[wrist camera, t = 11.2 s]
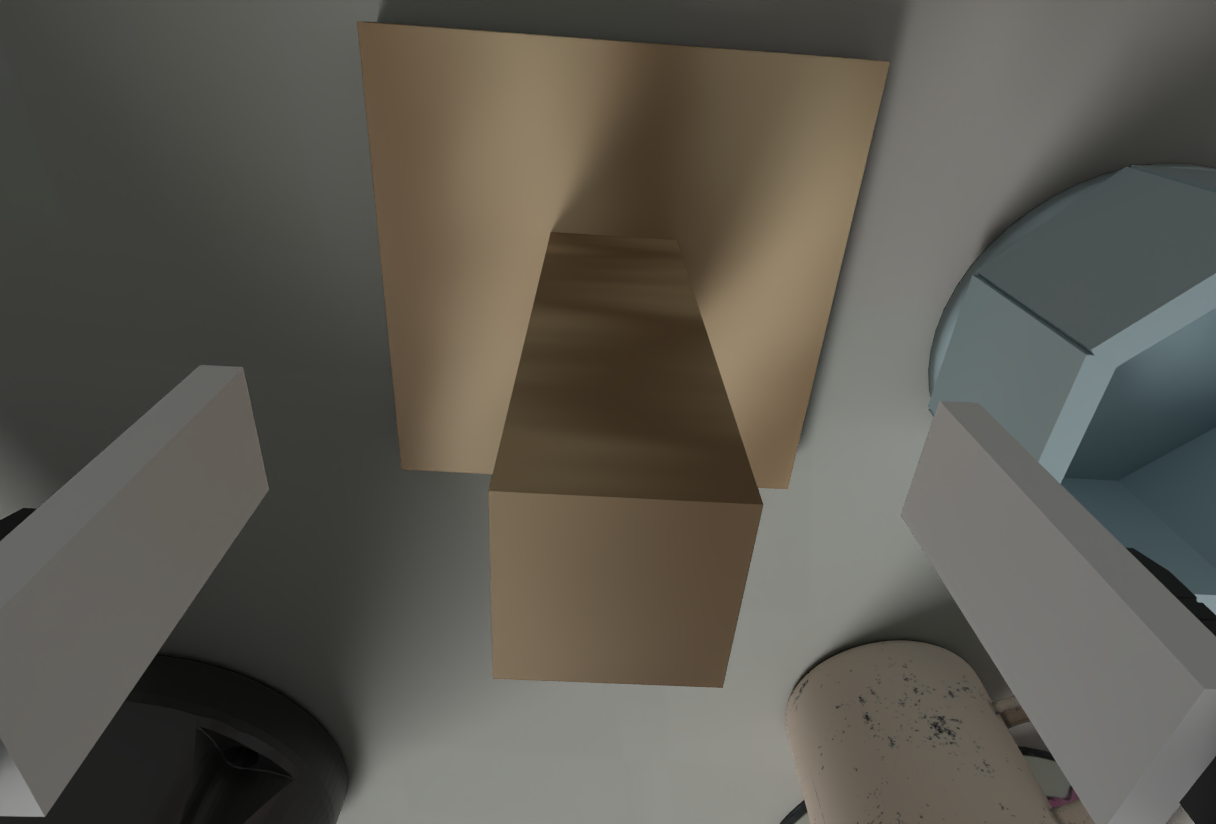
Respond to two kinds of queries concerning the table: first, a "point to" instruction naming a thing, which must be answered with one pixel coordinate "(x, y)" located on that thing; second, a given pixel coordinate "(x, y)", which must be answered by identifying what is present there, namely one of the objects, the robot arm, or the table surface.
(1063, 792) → the dog bowl
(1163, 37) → the table surface
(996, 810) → the teacup with lid
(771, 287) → the oak lid
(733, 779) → the table surface
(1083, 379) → the ceramic bowl
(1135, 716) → the robot arm
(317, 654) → the table surface
